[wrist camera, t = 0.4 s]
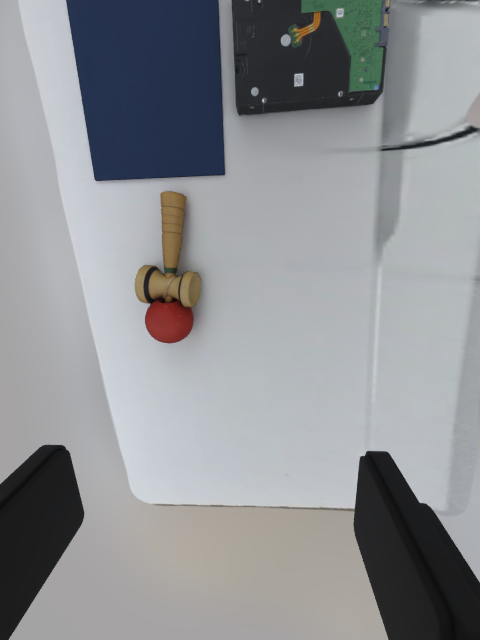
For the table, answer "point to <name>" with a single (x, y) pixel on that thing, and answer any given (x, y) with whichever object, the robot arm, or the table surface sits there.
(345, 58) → the disk drive
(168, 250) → the kendama
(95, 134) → the napkin
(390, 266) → the table surface
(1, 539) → the robot arm
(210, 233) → the table surface
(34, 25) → the table surface
